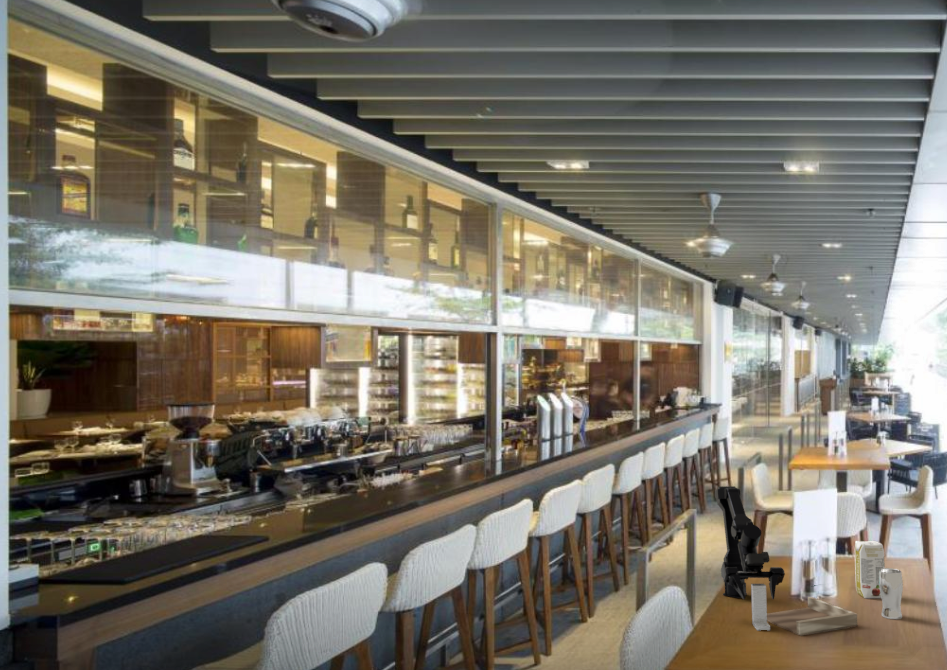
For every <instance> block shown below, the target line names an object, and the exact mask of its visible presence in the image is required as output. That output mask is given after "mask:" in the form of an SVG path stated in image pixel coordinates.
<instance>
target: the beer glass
mask: <svg viewBox="0 0 947 670" xmlns="http://www.w3.org/2000/svg"><path fill="white" fill-rule="evenodd" d="M902 575H903V572H902V570H900V569H897V568H892V567H890V568H889V567H885V568H881V569H879V588H880V593H881V598H880V599H881V601H882V602H881V603H882V605H881V606H882V609H881V614H880V615H881V617H883V618H884V619H888V620H902V619H903V615H902V609H901V604H902V603H901V602H902V598H903V597H902V596H903V588H904V587H903V585H904V584H903V581H904V580H903V576H902Z"/></svg>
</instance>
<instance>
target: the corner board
mask: <svg viewBox="0 0 947 670" xmlns="http://www.w3.org/2000/svg"><path fill="white" fill-rule="evenodd" d="M767 623H771V624H773V625H774V626H777V627H779V628H781V629H783V630H787V632H788V631H789V632H790V633H793V634H795V635H798V636H799V635H800V636H799V637H801V636H808V635H812V634H813V635H814V634H820V633H825V632H831V631H839V630H845V629H849V628H850V627H851V628H856V626H857V627H858V613H856V612H854V611H851V610H848V609H846V608H842V607H840V606H837V605H834V604H831V603H829V602H826V601H824V600H821V599H818V598H815V597H813V596H808V597H807V606H806V607H802V608H795V609H789V610H781V611H776V612H774V611H773V612H770V613H769V612H768V613H767Z"/></svg>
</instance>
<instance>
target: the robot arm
mask: <svg viewBox="0 0 947 670" xmlns="http://www.w3.org/2000/svg"><path fill="white" fill-rule="evenodd" d="M714 497H715V498H714V499H716V502H717V505H718V507H719V508H720V510H721V511H722V514H723V515H722V516H723V525H724V534H725V543H726V553H725V554H724V557H723V562H722V564H721V569H720V574H721V575H720V576H721V577H722V580H723V583H724V593H722V596H725V597H730V598H731V597H732V598H736V599H741V598H742V600H745V599H746V598H745V597H746V595H748V593H747V583H746V582H745V581H746V580H749V579H768V582H769V583H768V585H769V591H770V597H771V600H775V597H776V587H777V586H779V584H781V583H783V580H784V577H785V575H786V573H785V570H784V568H783V567H781V566H770V567H769V570H768V571H763V569H764V564H766V563H769V562H770V555H769V551H762V552H761V553H758V550H757V547H758V546H759V542H760V539H761V537H762V529H760V527H758V526H757V525H756V524H754V522H753V521H752V519H751V518H750V517H748V516H747V514H746V511H745V508H744V504H743V502H742V494H741V488H738V487H736V486H734V485H733V486H731V485H729V486H728V485H727V486H724V485H723V486H718V487H717V489H715V490H714Z"/></svg>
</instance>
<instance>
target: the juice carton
mask: <svg viewBox="0 0 947 670" xmlns="http://www.w3.org/2000/svg"><path fill="white" fill-rule="evenodd" d="M885 565H886V564H885V550H884V545H883V544H882V543H881V542H880V541H876V540H868V541H865V540H864V541H863V540H855V542H854V568H855V569H854V572H855V575H854V576H855V590H856V593H857V594H858V595H859V596H860V597H862V598H863V599H882V598H881V593H880V588H879V569H881V568H886V566H885Z"/></svg>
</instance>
